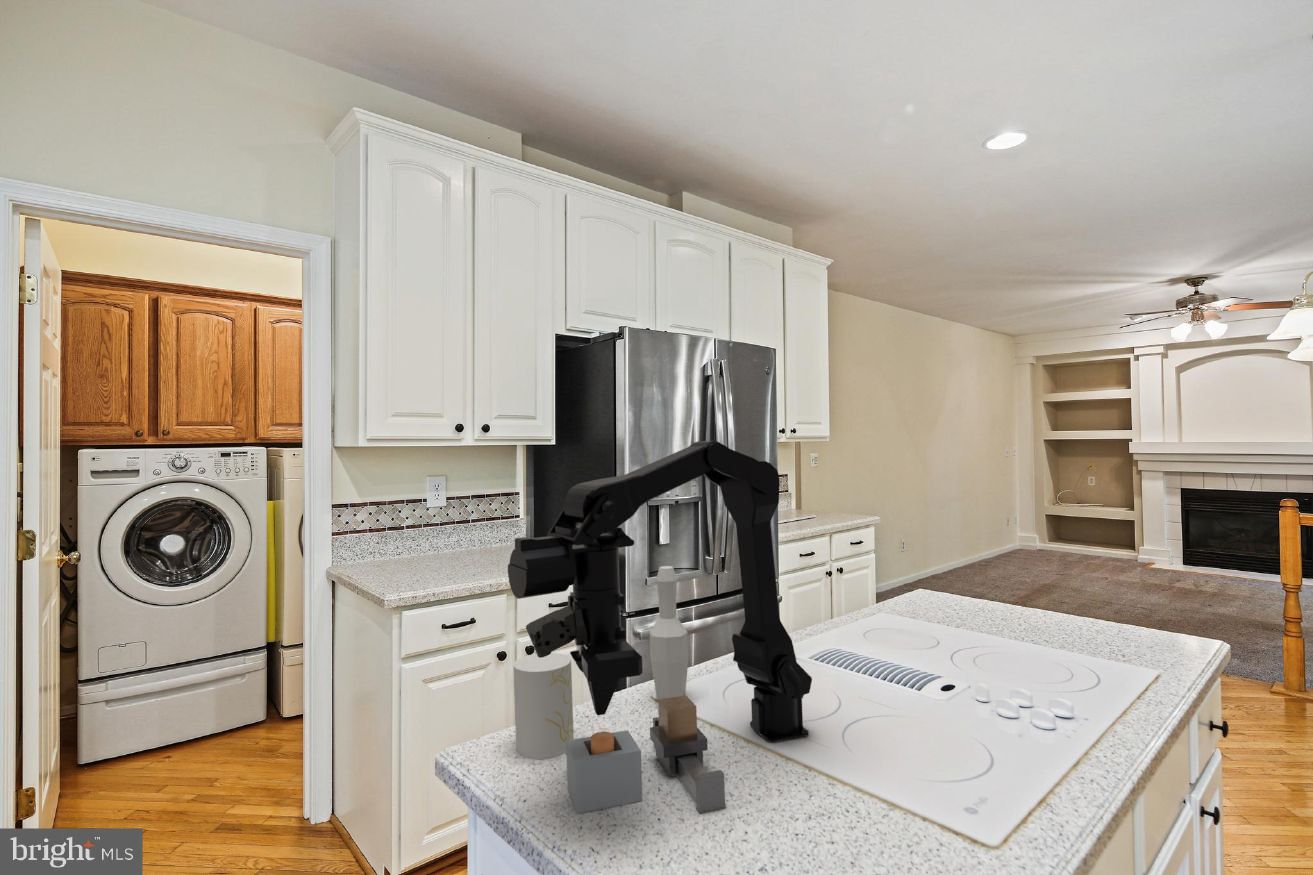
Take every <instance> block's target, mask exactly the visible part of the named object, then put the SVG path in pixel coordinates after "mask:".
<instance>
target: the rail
mask: <svg viewBox="0 0 1313 875" xmlns="http://www.w3.org/2000/svg"><path fill="white" fill-rule="evenodd" d="M656 726H659V716H657V717H652V727H656ZM653 748H654V749H655V745H654V744H653ZM675 771H676V775H675V776H676V777H677V778H678V779H679V781H680V782H681V784H682V785H683V786H684V789H686V791H687V792H688V794H689V795H690V797H691V798H692V800H693V801H694V803H695V804H696V811H697V812H698V813H699V814H705V813H709V812H714V811H719V810H723V809H726V791H725V789H726V788H725V786H726V784H725V772H724V771H722V769H718V770H712V771H708V769H707V768H706V767H705V766H704V763H703V764H702V763H701V762H700V761H699V759H698V758H697V757H696V756H695V754H694V753H690V754H684V755H679V756H675Z"/></svg>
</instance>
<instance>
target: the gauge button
mask: <svg viewBox="0 0 1313 875" xmlns="http://www.w3.org/2000/svg"><path fill="white" fill-rule="evenodd" d="M612 733H613V732H611V731H610V732H609V731H599V732H595V733H592V735H591V755H595V754H601V753H607V752H612V751H614V735H613V734H612Z"/></svg>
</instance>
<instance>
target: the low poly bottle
mask: <svg viewBox="0 0 1313 875" xmlns="http://www.w3.org/2000/svg"><path fill="white" fill-rule="evenodd" d="M677 583H678V578H677V574H676V572H675V569H674V566H672V565H664V566H663V565H662V566H659V567H658V572H657V575H656V585H657V586H656V587H657V594H658V611H659V612H658V618H657V619H656V621H655V623H654V624H653V626H652V627H651V629H650V630H649V652H650V653H649V654H650V657H649V658H650V664H651V668H652V676H653V682H654V683H653V684H654V689H655V695H656V701H657V702H658V699H665V698H671V697H677V696H684V695H686V690H687V680H688V678H687V677H688V669H689V641H688V640H689V639H688V638H689V637H688V636H689V635H688V633H689V632H688V631H687V629H686V628H685V626H684V625H683V623H681V621H680V620H679V618H678V617H677V587H678V586H677V585H678V584H677Z"/></svg>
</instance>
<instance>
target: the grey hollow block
mask: <svg viewBox="0 0 1313 875" xmlns="http://www.w3.org/2000/svg"><path fill="white" fill-rule="evenodd" d="M611 733H612V734H613V735H614V751H612V752H607V753H601V754H595V755H591V736H592V735H591V736H584V737H579V738H574V739H573V740H567V741H566V753H565V754H566V780H567V781H566V783H567V791H568V793H569V797H570V800H571V803H572V805H573V808H574V811H575V814H576V815H579V814H584V813H589V812H595V811H598V810H604V809H607V808H614V807H618V806H624V805H627V804H634V803H638V802H642V801H643V781H642V780H643V779H642V776H643V774H642V750H641V748H640V747H639V745H638V744H637V741H635V739H634V737H633V736H632V734H631V733H630V731H629V730H621V731H615V732H611Z"/></svg>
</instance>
